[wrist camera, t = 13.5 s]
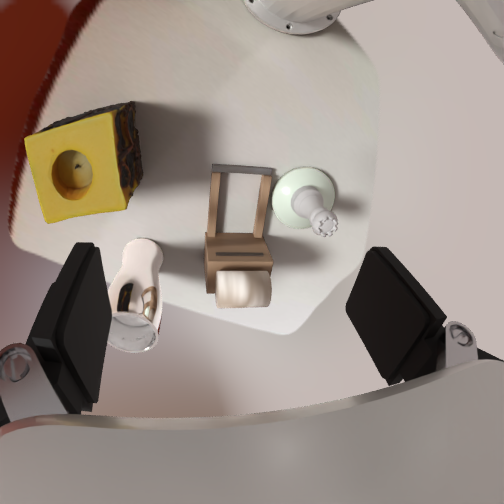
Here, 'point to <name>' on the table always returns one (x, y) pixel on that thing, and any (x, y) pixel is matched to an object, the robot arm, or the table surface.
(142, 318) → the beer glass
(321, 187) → the pale green round disc
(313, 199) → the rook chess piece
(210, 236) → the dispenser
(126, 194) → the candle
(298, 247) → the table surface
